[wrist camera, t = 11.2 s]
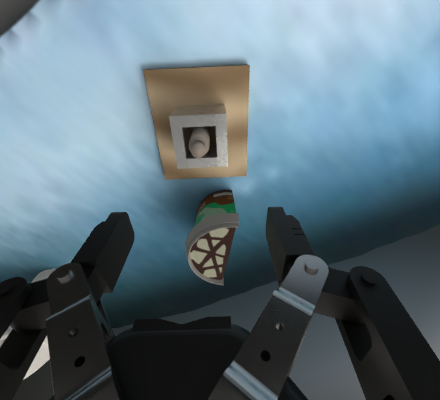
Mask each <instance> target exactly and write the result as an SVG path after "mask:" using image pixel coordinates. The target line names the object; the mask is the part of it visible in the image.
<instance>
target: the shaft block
mask: <svg viewBox="0 0 440 400" xmlns="http://www.w3.org/2000/svg"><path fill="white" fill-rule="evenodd" d="M249 69H250V65H233V66H212V67H191V68H169V69H148V70H143V71H144V76H145V81H146V86H147V91H148V96H149V101H150V106H151V111H152V116H153V121H154V126H155V131H156V136H157V141H158V146H159V151H160V156H161V161H162V166H163V171H164V176H165V180H167V179H190V178H213V177H235V176H246V170H247V136H248V103H249ZM217 104H225V108H226V114H227V152H228V166H225V167H205V168H184V169H177V163H176V157H175V151H174V144H173V138H172V132H171V126H170V120H169V116H170V114H171V113H172V111H173V110H174V109H175V107H178V106H198V105H217ZM188 130H189V138H190V141H189V150H190V151H191V153H192V155H193V156H194V157H196V158H201V157H203V156H204V155H205V154H206V153H207V152H208V150H209V143H216V126H202V127H188Z"/></svg>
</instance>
